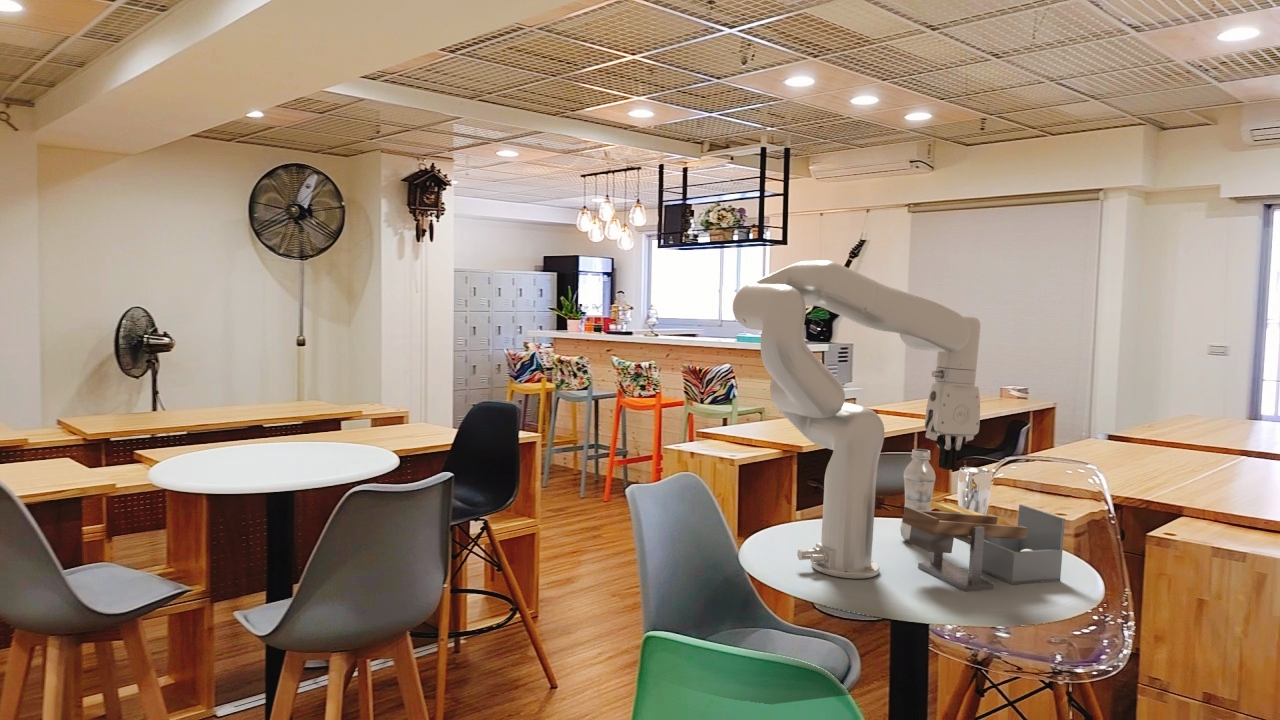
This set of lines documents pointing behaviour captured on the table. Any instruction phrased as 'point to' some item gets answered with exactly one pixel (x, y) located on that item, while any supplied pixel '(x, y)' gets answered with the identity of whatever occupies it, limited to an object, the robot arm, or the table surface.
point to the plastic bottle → (918, 485)
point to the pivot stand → (958, 575)
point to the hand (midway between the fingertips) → (946, 468)
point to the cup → (1027, 565)
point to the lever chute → (953, 527)
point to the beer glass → (974, 489)
